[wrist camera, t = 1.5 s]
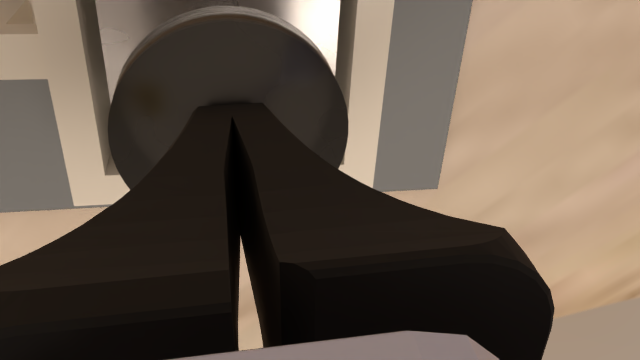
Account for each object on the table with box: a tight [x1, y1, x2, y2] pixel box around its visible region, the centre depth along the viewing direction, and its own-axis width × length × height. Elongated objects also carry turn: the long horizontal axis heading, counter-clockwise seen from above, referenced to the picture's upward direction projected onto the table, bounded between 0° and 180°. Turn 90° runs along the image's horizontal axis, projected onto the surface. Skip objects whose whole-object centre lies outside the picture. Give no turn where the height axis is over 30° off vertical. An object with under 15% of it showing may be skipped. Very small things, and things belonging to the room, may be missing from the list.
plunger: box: [95, 0, 349, 190], centre depth 14 cm, size 6×6×6 cm
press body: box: [0, 0, 395, 206], centre depth 18 cm, size 11×9×5 cm
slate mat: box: [0, 0, 473, 213], centre depth 20 cm, size 18×16×1 cm
